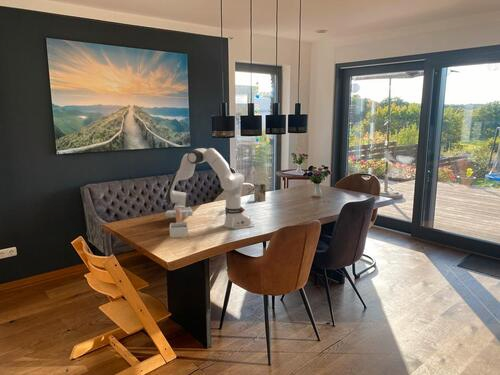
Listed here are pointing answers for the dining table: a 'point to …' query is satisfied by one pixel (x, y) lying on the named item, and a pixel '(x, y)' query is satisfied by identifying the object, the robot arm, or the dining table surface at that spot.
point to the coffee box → (259, 192)
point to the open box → (178, 230)
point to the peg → (178, 216)
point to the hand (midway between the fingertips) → (179, 215)
